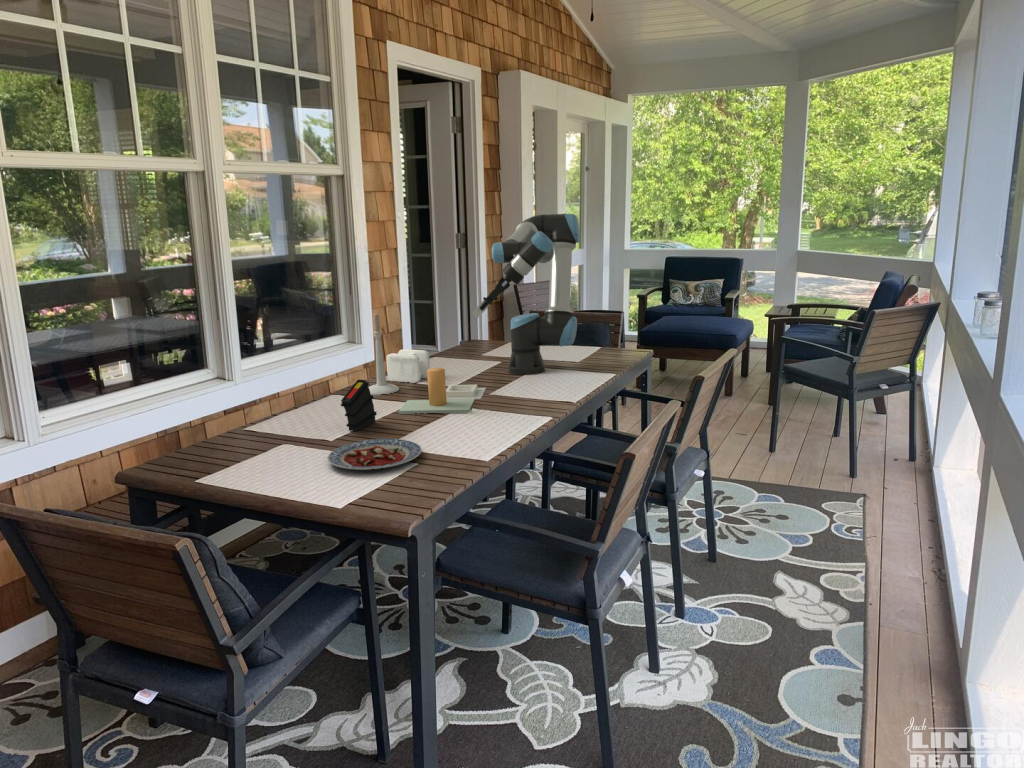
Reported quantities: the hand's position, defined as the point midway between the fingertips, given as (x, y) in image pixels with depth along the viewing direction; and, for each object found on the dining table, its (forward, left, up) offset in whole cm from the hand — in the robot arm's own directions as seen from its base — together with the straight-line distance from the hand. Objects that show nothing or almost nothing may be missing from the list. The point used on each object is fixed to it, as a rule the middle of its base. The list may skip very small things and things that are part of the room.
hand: (477, 313), depth 276 cm
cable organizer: (+32, -23, -30) cm, 49 cm away
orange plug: (+13, +19, -28) cm, 36 cm away
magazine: (+34, +42, -30) cm, 62 cm away
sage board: (+13, +20, -30) cm, 38 cm away
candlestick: (+39, -6, -30) cm, 49 cm away
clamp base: (+7, +4, -30) cm, 31 cm away
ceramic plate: (+21, +73, -30) cm, 82 cm away
